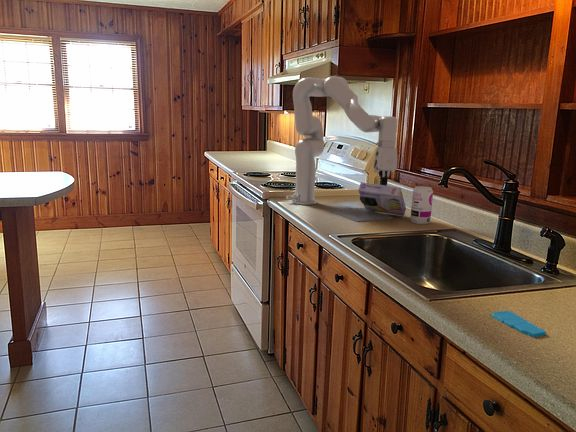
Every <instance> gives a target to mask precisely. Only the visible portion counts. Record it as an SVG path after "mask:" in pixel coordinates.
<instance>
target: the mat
mask: <svg viewBox="0 0 576 432" xmlns="http://www.w3.org/2000/svg"><path fill="white" fill-rule="evenodd" d="M330 212H331V213H334V214H336V215H339V216H341V217H344V218H346V219H348V218H349V219H348V220H351V221H354V222H356V221H357V222H356V223H361V221H364V222H371V221H372V222H373V221H383V220H386V221H387V220H393V219H394V217H392V216H389V215H386V214H384V213H381V212H375V211H368V210H366V209H365V207H359V208H346V209H345V208H343V209H330Z"/></svg>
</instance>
